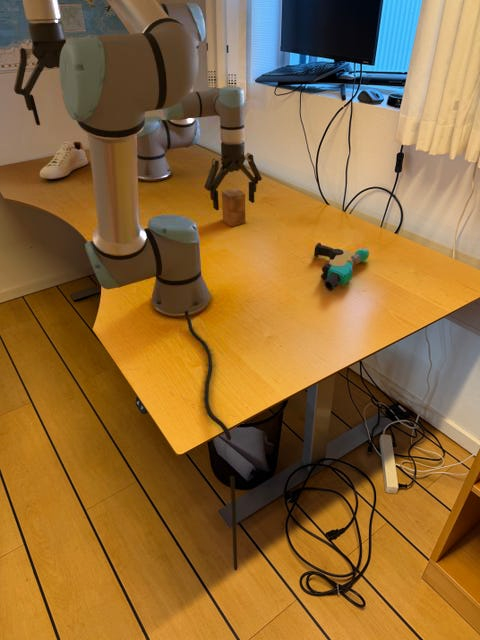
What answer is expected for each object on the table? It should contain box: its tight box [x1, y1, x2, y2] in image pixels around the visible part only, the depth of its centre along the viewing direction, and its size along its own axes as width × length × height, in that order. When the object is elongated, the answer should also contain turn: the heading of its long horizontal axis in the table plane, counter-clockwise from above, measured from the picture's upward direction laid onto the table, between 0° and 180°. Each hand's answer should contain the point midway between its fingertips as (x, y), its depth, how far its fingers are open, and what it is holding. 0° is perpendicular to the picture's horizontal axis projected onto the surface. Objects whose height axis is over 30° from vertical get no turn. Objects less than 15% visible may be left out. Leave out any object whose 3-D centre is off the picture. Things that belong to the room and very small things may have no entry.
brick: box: [221, 187, 246, 227], centre depth 163 cm, size 6×6×11 cm
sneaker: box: [39, 141, 89, 180], centre depth 207 cm, size 10×29×12 cm, turn 163°
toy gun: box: [313, 242, 370, 292], centre depth 136 cm, size 4×26×15 cm
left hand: (234, 205), depth 163 cm, fingers open, 13 cm apart
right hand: (66, 120), depth 120 cm, fingers open, 13 cm apart
